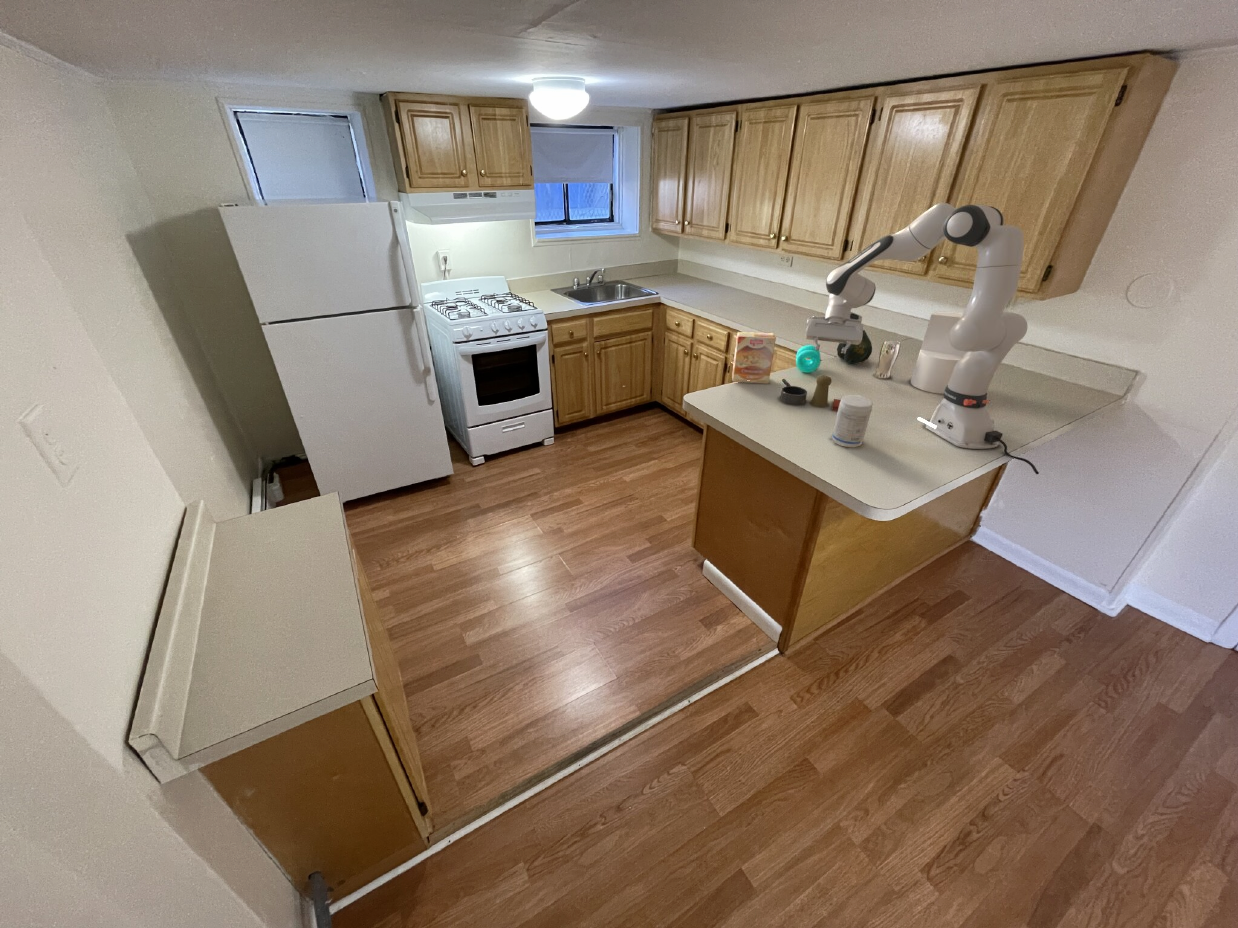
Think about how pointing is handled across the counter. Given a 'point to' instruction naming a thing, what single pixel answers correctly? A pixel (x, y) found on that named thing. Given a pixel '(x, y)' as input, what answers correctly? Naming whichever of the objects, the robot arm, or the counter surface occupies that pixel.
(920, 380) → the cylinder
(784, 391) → the pan
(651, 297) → the counter surface
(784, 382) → the pan handle
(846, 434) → the supplement tub
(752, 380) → the coffeecake box
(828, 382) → the olive tall rounded piece
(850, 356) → the squash
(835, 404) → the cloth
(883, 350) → the beer glass
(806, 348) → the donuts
